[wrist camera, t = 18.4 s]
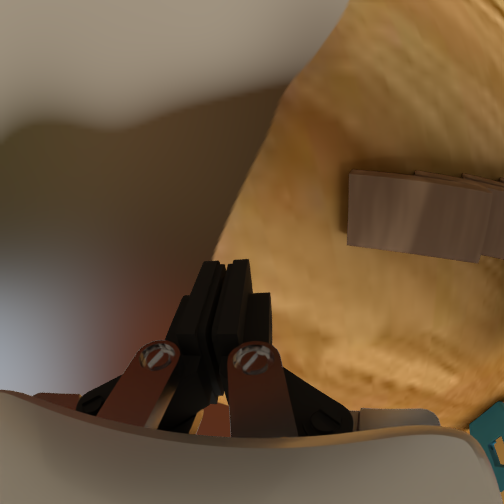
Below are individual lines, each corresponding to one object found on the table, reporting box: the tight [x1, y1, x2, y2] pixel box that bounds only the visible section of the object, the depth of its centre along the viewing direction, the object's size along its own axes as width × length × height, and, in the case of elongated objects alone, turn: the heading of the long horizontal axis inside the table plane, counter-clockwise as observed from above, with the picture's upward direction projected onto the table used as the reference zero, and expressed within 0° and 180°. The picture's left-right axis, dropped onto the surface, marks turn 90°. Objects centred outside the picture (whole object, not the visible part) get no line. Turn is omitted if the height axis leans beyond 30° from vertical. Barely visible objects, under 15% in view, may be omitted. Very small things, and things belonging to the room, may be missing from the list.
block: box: [469, 401, 504, 492], centre depth 27 cm, size 12×5×20 cm, turn 150°
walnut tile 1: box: [347, 169, 493, 263], centre depth 16 cm, size 2×5×10 cm
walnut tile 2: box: [415, 170, 504, 259], centre depth 16 cm, size 2×5×10 cm
